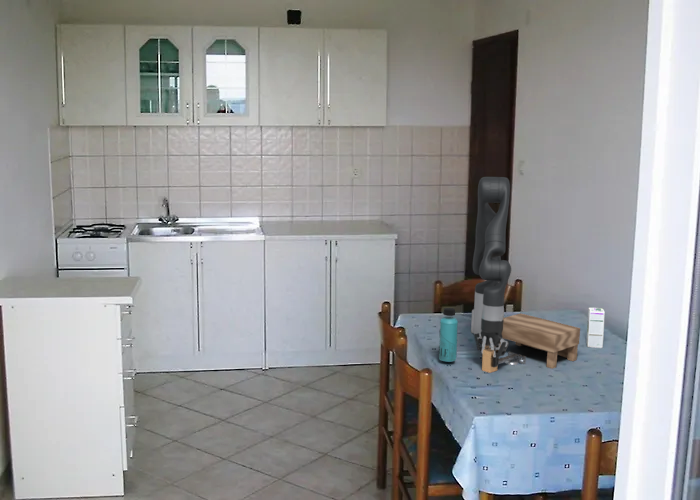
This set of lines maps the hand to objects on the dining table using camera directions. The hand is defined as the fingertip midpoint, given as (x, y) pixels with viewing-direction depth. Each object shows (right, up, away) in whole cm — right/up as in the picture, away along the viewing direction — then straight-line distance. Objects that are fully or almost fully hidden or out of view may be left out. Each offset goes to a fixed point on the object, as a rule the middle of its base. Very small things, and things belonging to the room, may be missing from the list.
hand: (489, 365), depth 269 cm
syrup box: (+46, +3, +31) cm, 56 cm away
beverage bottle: (-14, -1, +7) cm, 16 cm away
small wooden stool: (+20, +1, +18) cm, 27 cm away
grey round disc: (+9, -1, +9) cm, 13 cm away
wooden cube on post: (+5, -1, +5) cm, 7 cm away
